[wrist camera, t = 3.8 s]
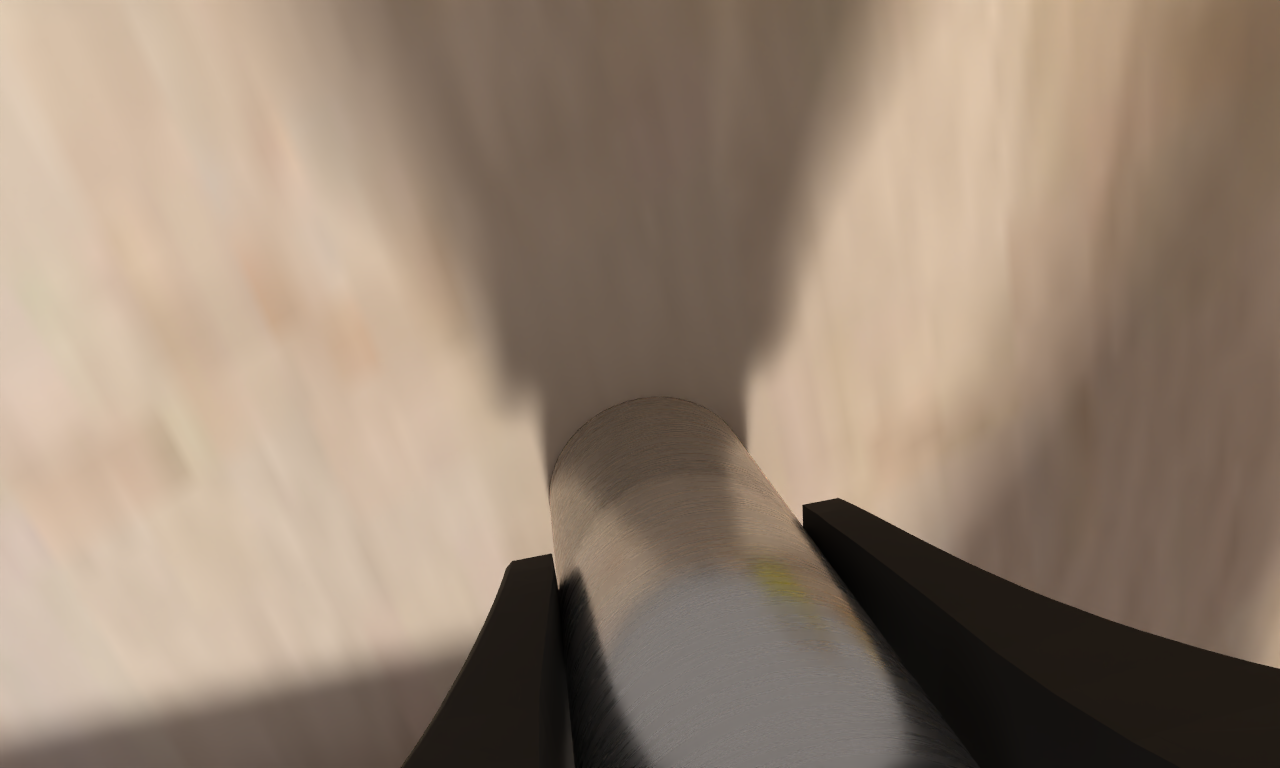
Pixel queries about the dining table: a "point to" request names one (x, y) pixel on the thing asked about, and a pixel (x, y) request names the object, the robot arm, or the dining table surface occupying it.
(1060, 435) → the dining table surface
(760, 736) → the steel pin
